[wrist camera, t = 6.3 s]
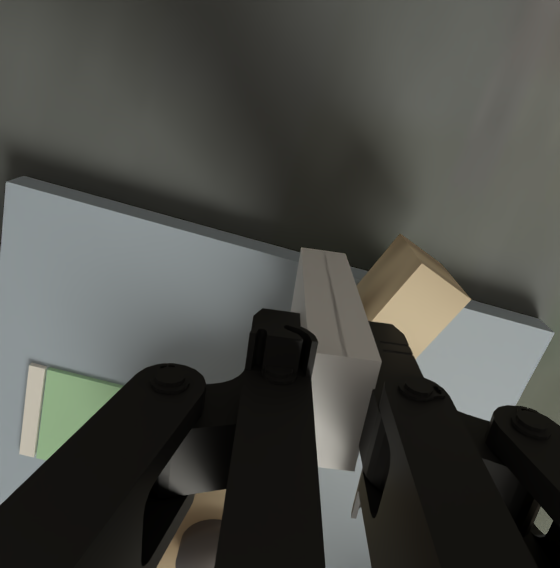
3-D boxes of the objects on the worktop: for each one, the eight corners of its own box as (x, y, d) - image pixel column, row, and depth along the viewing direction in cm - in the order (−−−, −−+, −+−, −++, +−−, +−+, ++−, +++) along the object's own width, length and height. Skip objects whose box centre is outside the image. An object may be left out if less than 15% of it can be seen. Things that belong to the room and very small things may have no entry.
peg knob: (199, 593, 23) (176, 713, 19) (84, 535, 22) (31, 648, 18) (482, 293, 18) (548, 363, 13) (347, 192, 16) (368, 231, 12)
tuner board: (-9, 535, 24) (-27, 561, 23) (23, 175, 18) (2, 182, 17) (381, 622, 26) (385, 651, 25) (539, 318, 19) (557, 335, 18)
